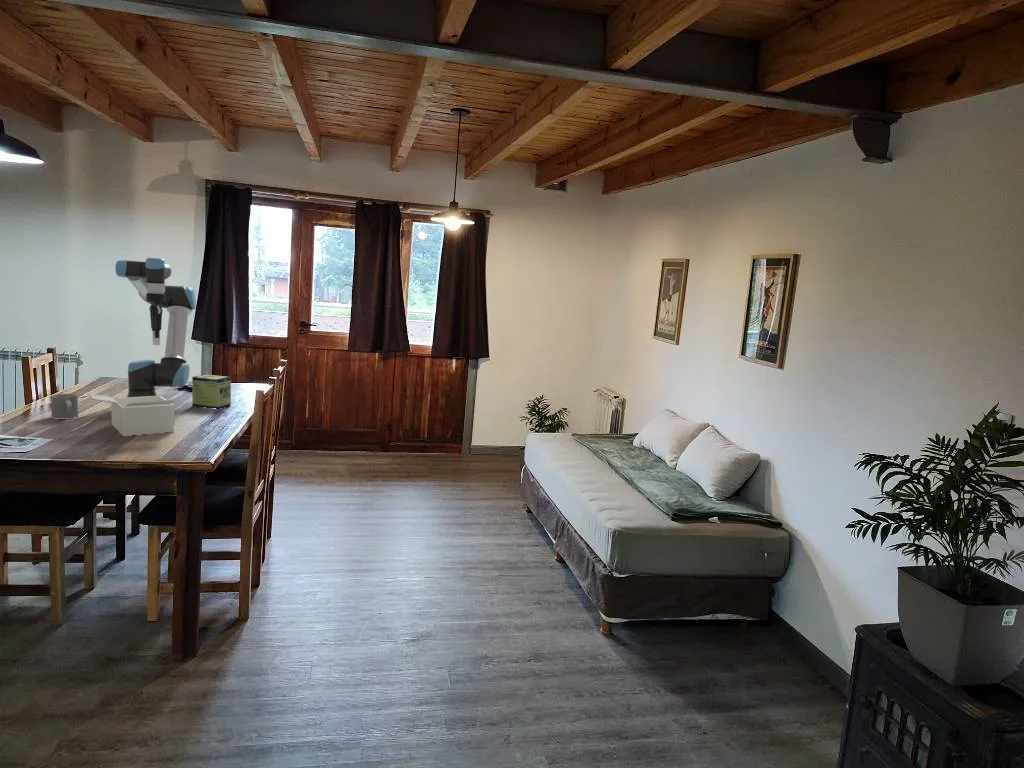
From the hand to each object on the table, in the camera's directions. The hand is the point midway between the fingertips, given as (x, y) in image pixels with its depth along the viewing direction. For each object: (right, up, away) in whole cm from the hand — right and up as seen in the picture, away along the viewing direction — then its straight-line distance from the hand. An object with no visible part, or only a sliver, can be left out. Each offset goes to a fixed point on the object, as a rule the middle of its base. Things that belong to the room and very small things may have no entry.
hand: (156, 344), depth 311 cm
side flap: (-6, -25, -22) cm, 33 cm away
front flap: (+10, -26, -26) cm, 38 cm away
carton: (+2, -37, -15) cm, 40 cm away
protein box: (+8, -30, +40) cm, 50 cm away
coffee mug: (-38, -33, -5) cm, 51 cm away
